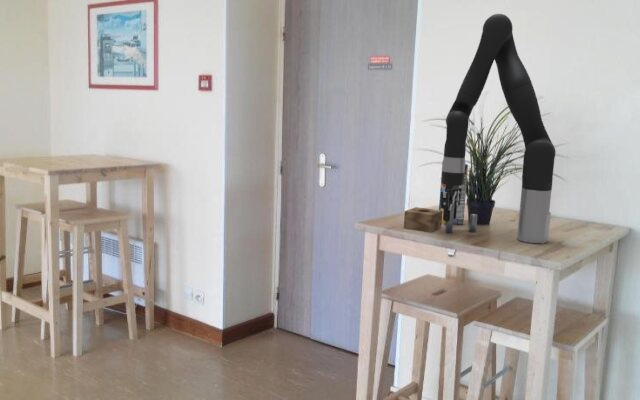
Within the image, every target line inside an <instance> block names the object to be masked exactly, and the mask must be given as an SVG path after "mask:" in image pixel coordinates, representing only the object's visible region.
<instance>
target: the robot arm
mask: <svg viewBox="0 0 640 400" xmlns="http://www.w3.org/2000/svg"><path fill="white" fill-rule="evenodd" d="M484 21H485V22H484V24H483V25H482V33H481V37H480V40H479V43H478V46H477V50H476V52H475V54H474V57H473V60H472V62H471V64H470V66H469V68H468V70H467V72H466V74H465V76H464V79H463V80H462V83H461V85H460V87H459V89H458V91H457V95H456V97H455V100H454V102H453V103H452V105H451V108H450V109H449V112H448V113H447V115H446V119H445V125H446V132H445V133H446V136H445V142H444V149H443V159H442V161H443V164H442V163H441V164H442V165H441V174H442V177H440V184H441V183H442V184H445V185H446V187H445V190H444V192H443V191H442V192H441V208H442V209H443V210H444V213H443V220H444V221H450V213H451V206H452V204H453V203H454V201H455V204H454V217H453V219H455V218H456V214H457V208H458V205H460V200H461V193H462V188H459V186H461V185H463V184H464V174H465V164H466V149H467V142H466V141H467V136H468V132H469V131H468V130H469V119H470V116H471V114H472V111H473V109H474V107H476V105H477V104H478V101H479V100H480V97H481V95H482V92H483V90H484V88H485V87H486V86H485V85H486V83H487V80H488V78H489V75H490V72H491V69H492V65H494V64H493V63H494V62H495V65H496V68H497V74H498V80H499V82H500V86H501V90H502V93H503V96H504V99H505V102H506V105H507V107H508V108H509V111H510V112H511V113H510V114H511V115H512V117H513V118H514V120H515V122H516V124H517V125H518V128H519V131H520V133H521V136H522V140H523V144H524V154H523V163H522V172H521V173H522V174H521V191H520V204H519V213H518V223H517V232H516V234H517V236H516V239H517V240H518V241H520V242H524V243H530V244H546V243H547V242H548V241H549V232H550V226H551V224H550V223H551V212H550V211H551V210H550V208H551V199H552V188H553V179H554V177H553V175H554V166H555V160H556V159H555V158H556V152H557V151H556V147H555V145H554V144H553V142H552V140H551V138H550V136H549V134H548V132H547V130H546V127H545V125H544V122H543V119H542V114H541V110H540V105H539V102H538V98H537V94H536V92H535V89H534V86H533V82H532V80H531V77H530V75H529V73H528V71H527V68H525V66H524V64H523V62H522V60H521V58H520V56H519V53H518V50H517V47H516V42H515V39H514V33H513V24H512V21H511V19H510V18H509V17H508V16H507V15H506V14H503V13H495V14H492V15H491V16H490V15H489V17H488V18H487V19H486V20H484ZM446 204H447V206H446Z"/></svg>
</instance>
